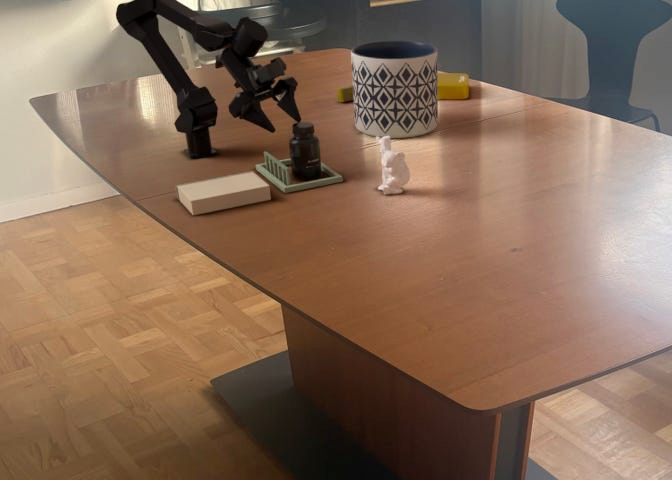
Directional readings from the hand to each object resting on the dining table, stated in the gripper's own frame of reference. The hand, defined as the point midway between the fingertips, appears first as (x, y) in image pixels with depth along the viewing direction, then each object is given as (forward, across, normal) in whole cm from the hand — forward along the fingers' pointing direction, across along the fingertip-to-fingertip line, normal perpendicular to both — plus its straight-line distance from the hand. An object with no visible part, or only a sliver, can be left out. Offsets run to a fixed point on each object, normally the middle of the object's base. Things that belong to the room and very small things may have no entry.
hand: (287, 126), depth 188 cm
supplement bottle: (+11, 0, +5) cm, 12 cm away
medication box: (-9, +60, +25) cm, 66 cm away
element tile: (+5, +79, +11) cm, 80 cm away
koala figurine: (+27, +1, -11) cm, 29 cm away
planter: (+9, +43, +7) cm, 44 cm away
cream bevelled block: (+6, -20, +9) cm, 23 cm away
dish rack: (+9, -1, +6) cm, 11 cm away
